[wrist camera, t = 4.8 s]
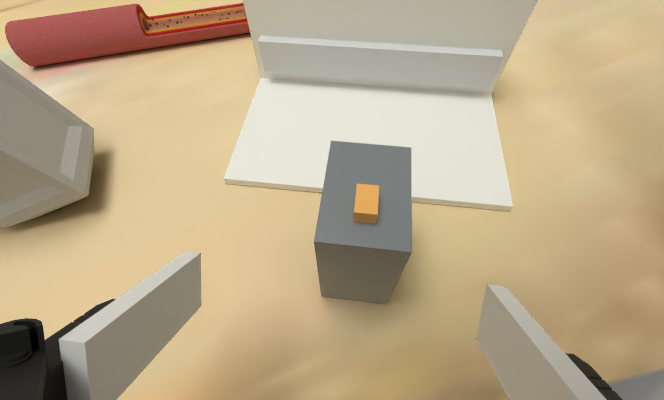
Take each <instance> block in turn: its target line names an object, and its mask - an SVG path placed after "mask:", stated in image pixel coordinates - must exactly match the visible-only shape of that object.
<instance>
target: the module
mask: <svg viewBox="0 0 664 400" xmlns="http://www.w3.org/2000/svg"><path fill="white" fill-rule="evenodd" d="M314 245H315V252H316V260H317V267H318V275H319V282H320V289H321V296H322V297H330V298H338V299H346V300H354V301H362V302H371V303H379V304H387V302H388V300H389V298H390V296H391V294H392V292H393V290H394V288H395V286H396V284H397V282H398V279H399V277H400V275H401V273H402V271H403V269H404V267H405V265H406V263H407V261H408V259H409V257H410V255H411V253H412V198H411V147H400V146H388V145H376V144H365V143H353V142H342V141H331V144H330V150H329V156H328V162H327V167H326V173H325V179H324V185H323V191H322V197H321V203H320V209H319V215H318V221H317V227H316V233H315V239H314Z"/></svg>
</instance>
